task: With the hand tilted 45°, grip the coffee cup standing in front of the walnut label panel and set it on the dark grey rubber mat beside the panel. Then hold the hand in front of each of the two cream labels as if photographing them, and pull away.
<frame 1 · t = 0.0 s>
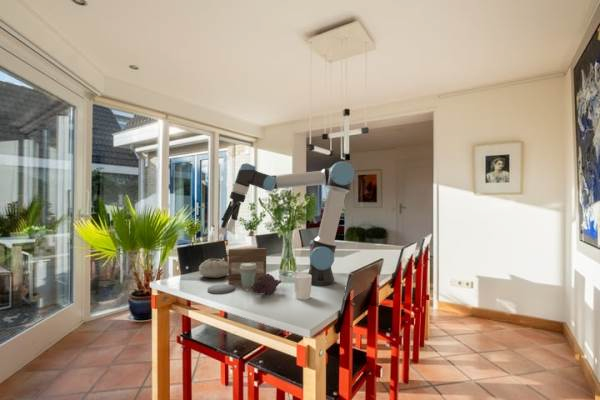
hand: (225, 232, 151), 28 cm above the table, tool tilted 20°, fingers open, 13 cm apart
coffee cup: (248, 288, 151), on the table
beige rounded lump: (215, 277, 173), on the table
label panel: (247, 282, 162), on the table
rubber mat: (221, 289, 147), on the table
pine cone: (265, 295, 139), on the table
white cup: (302, 298, 136), on the table
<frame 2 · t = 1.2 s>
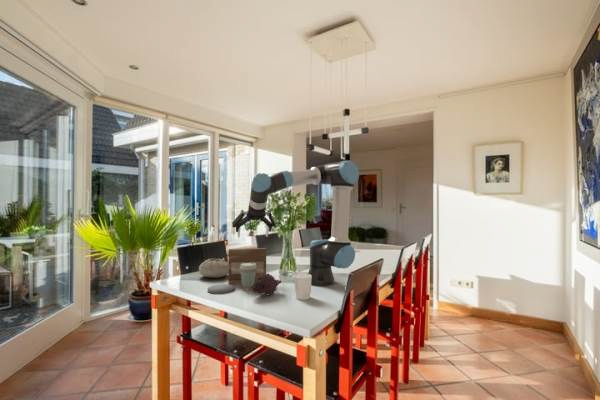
hand: (252, 235, 146), 27 cm above the table, tool tilted 45°, fingers open, 13 cm apart
nothing on the table moved.
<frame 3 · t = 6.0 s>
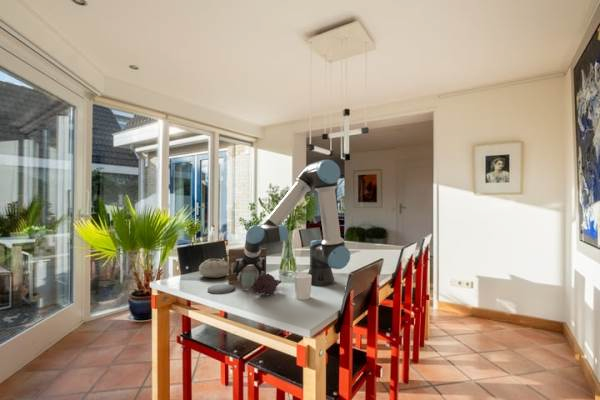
hand: (247, 277, 154), 4 cm above the table, tool tilted 45°, fingers closed on coffee cup, 8 cm apart
coffee cup: (248, 288, 151), on the table, touching gripper
everything else where it was.
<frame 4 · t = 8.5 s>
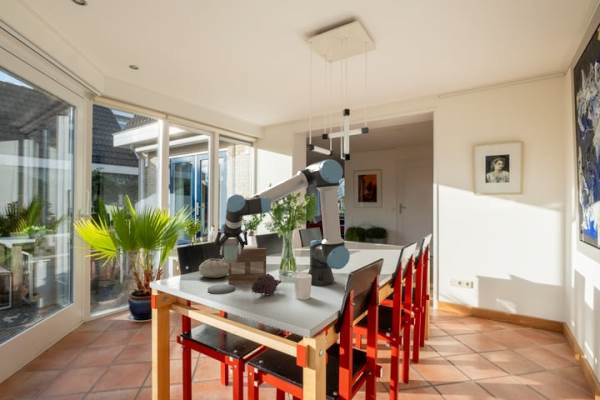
hand: (230, 252, 152), 18 cm above the table, tool tilted 45°, fingers closed on coffee cup, 8 cm apart
coffee cup: (230, 262, 148), point 13 cm above the table, touching gripper
everything else where it was.
when the fingers open (7 cm above the table, at t = 11.3 s): coffee cup drops 1 cm, resting on rubber mat.
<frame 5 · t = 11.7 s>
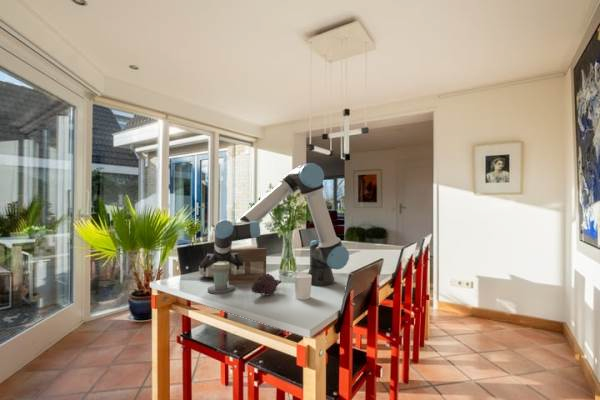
hand: (221, 273, 149), 8 cm above the table, tool tilted 45°, fingers open, 13 cm apart
coffee cup: (221, 288, 147), point 1 cm above the table, touching rubber mat
everything else where it was.
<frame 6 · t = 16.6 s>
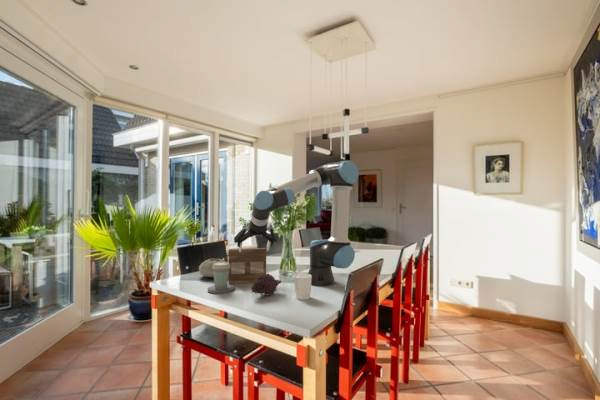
hand: (253, 249, 147), 20 cm above the table, tool tilted 45°, fingers open, 13 cm apart
nothing on the table moved.
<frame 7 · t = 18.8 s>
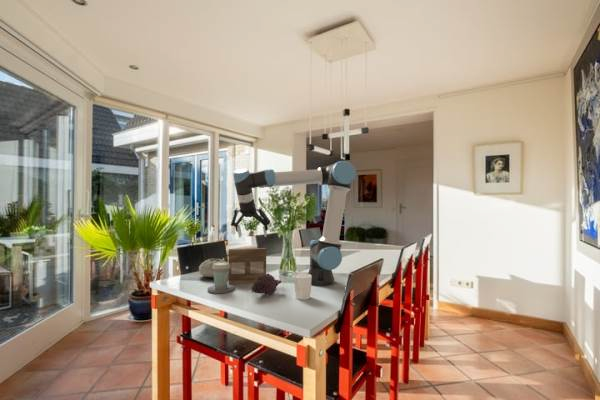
hand: (253, 235, 157), 26 cm above the table, tool tilted 30°, fingers open, 13 cm apart
nothing on the table moved.
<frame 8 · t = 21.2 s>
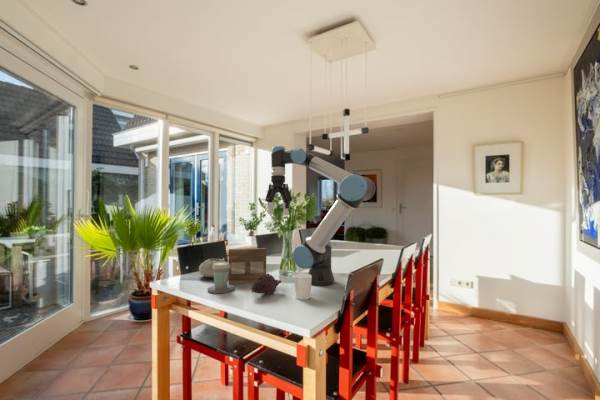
hand: (277, 214, 162), 37 cm above the table, tool pointing down, fingers open, 13 cm apart
nothing on the table moved.
at the end: coffee cup inside the target area on the rubber mat (0.1 cm from its centre), point 0.8 cm above the rubber mat's base; coffee cup tilted 0°; the gripper is holding nothing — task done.
